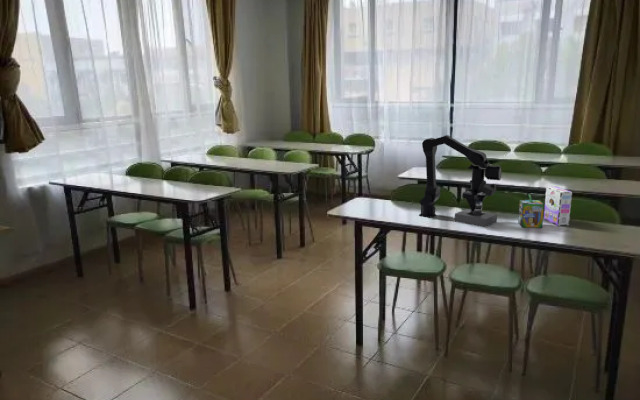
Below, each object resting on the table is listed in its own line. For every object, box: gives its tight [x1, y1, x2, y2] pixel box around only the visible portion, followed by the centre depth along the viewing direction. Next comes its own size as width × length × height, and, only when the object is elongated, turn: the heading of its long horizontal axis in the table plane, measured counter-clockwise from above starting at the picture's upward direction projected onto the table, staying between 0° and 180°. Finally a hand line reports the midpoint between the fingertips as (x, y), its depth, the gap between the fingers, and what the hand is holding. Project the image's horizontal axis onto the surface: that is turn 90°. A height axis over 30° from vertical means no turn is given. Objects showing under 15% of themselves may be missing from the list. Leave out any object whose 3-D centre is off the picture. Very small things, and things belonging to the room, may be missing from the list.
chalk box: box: [517, 193, 545, 229], centre depth 232 cm, size 9×9×15 cm
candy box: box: [543, 186, 573, 227], centre depth 236 cm, size 14×6×16 cm, turn 3°
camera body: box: [454, 208, 498, 228], centre depth 240 cm, size 16×12×4 cm
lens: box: [469, 200, 483, 214], centre depth 239 cm, size 6×6×6 cm
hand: (475, 210), depth 239 cm, fingers closed on lens, 6 cm apart
